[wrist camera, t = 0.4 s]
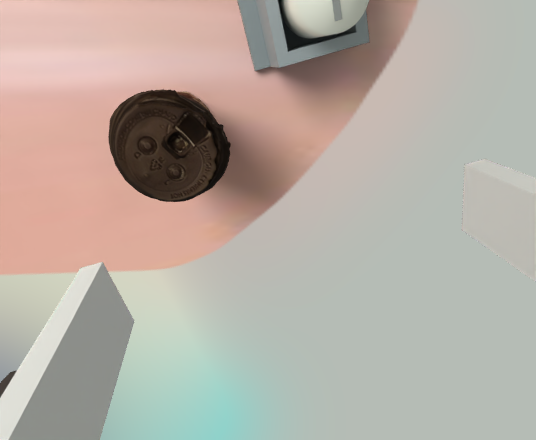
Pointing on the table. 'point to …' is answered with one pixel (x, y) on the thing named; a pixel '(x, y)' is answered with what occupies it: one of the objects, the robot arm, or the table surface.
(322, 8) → the knob
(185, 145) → the coffee cup
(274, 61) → the mount
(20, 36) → the table surface
